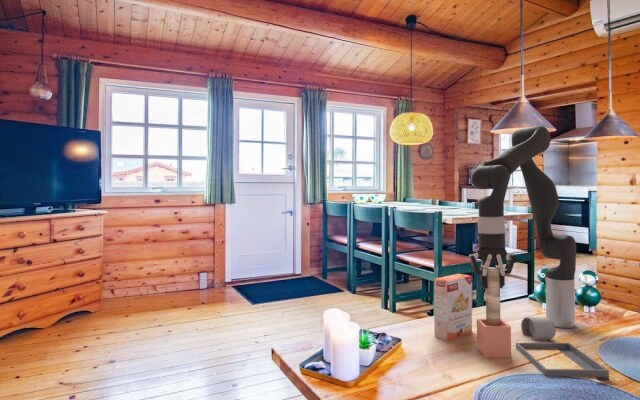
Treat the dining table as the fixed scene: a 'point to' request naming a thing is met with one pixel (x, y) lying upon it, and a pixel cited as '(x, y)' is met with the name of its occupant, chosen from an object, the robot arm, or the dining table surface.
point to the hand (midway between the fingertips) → (492, 287)
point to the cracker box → (452, 306)
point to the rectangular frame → (571, 352)
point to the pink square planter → (494, 338)
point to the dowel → (493, 295)
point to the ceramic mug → (538, 328)
